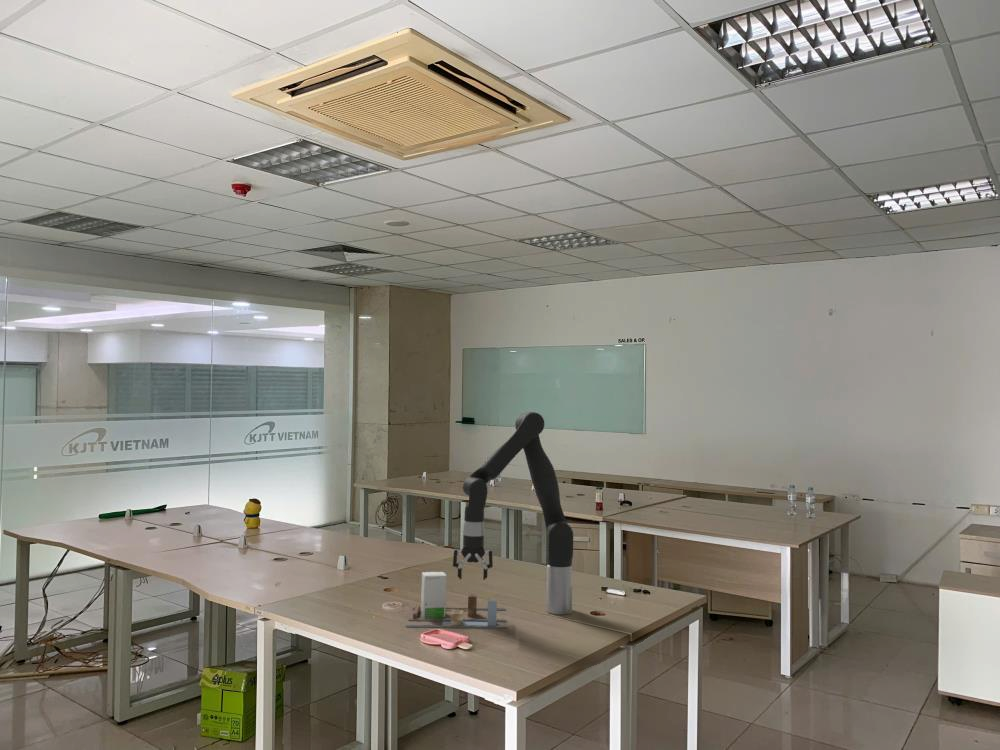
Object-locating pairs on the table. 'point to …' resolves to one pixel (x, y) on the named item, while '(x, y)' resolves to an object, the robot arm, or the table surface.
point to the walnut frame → (471, 609)
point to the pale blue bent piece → (491, 616)
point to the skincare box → (433, 594)
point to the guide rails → (457, 625)
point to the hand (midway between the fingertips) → (472, 579)
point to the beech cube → (457, 617)
